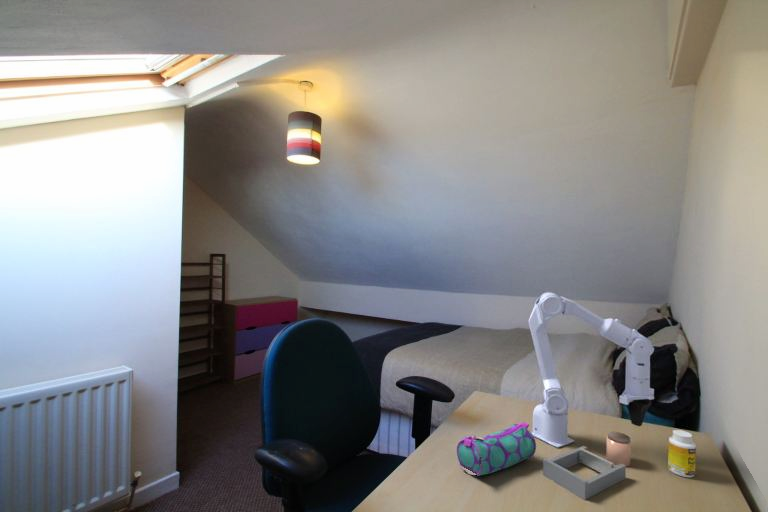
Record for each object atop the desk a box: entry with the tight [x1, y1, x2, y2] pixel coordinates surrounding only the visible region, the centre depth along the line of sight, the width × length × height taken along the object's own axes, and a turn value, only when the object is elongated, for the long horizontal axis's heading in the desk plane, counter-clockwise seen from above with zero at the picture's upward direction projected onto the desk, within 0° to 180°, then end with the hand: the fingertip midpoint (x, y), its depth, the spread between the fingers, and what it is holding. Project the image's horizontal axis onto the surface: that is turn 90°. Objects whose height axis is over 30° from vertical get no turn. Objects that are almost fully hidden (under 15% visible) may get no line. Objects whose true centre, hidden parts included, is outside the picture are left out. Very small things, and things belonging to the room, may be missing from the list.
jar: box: [605, 431, 632, 468], centre depth 103 cm, size 6×6×7 cm
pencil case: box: [456, 421, 537, 477], centre depth 100 cm, size 21×9×10 cm, turn 119°
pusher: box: [579, 448, 615, 474], centre depth 98 cm, size 8×1×3 cm, turn 30°
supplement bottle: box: [667, 429, 697, 478], centre depth 98 cm, size 6×6×10 cm
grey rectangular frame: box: [542, 445, 627, 501], centre depth 96 cm, size 11×17×4 cm, turn 120°
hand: (636, 424), depth 108 cm, fingers closed
